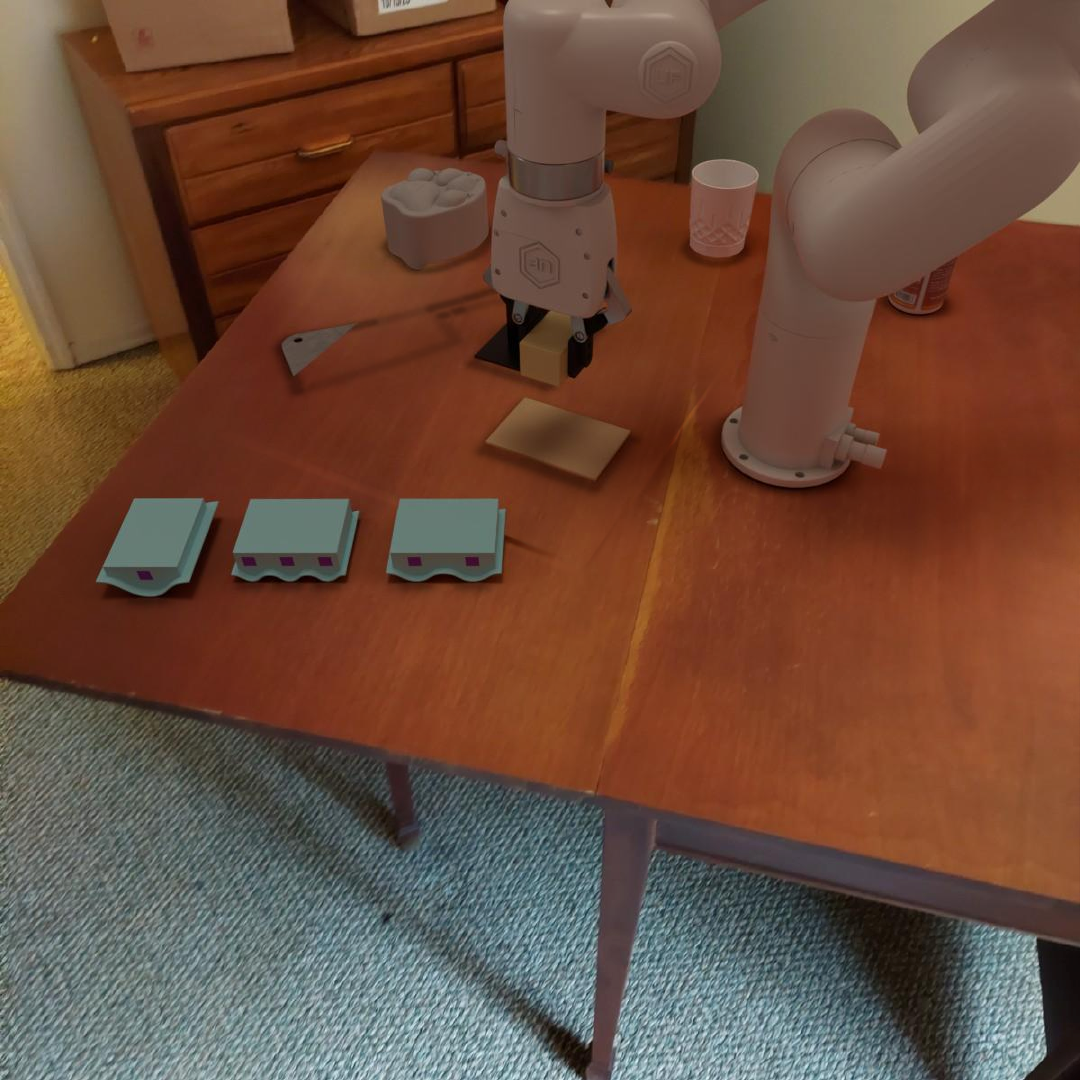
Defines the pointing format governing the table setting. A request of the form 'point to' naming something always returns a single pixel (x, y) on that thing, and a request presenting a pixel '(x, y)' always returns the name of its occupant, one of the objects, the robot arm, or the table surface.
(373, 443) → the table surface
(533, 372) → the butter
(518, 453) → the board
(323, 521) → the corrugated panels
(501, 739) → the table surface
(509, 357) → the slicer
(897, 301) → the pill bottle
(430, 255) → the lumpy-topped squat cylinder
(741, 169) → the white cup
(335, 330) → the cleaver
